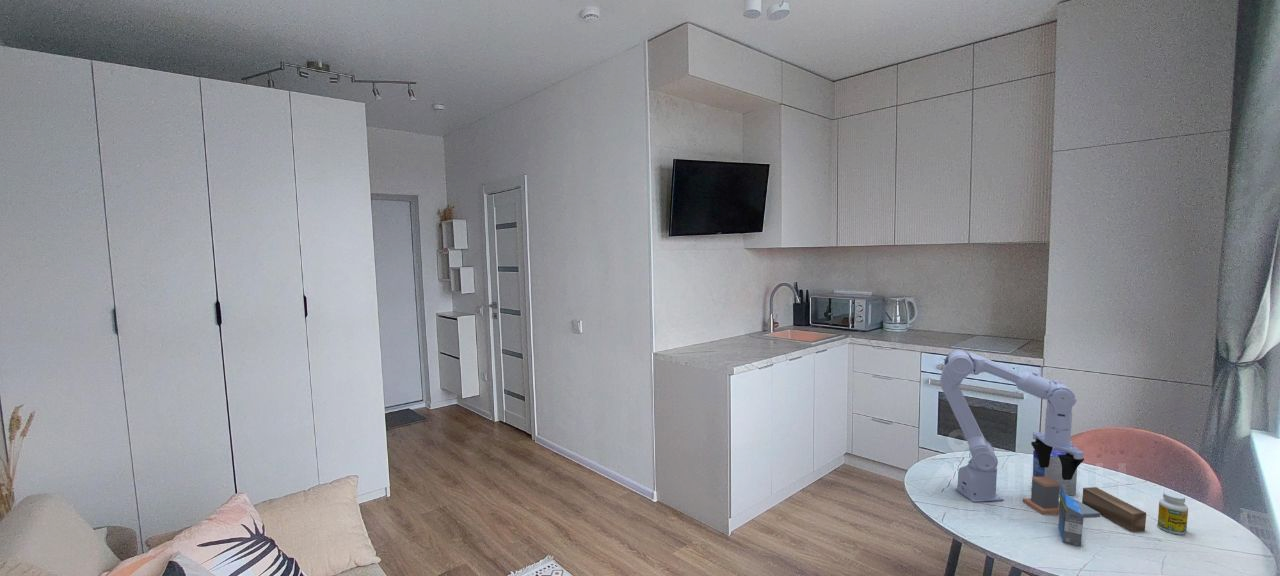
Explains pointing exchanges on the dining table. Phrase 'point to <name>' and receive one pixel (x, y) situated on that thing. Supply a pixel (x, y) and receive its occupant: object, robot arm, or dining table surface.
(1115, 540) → the dining table surface
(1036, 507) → the terracotta pad
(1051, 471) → the ink cartridge box
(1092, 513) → the slate pad
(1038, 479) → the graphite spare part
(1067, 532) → the label tape cartridge
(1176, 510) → the supplement bottle
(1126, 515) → the block
